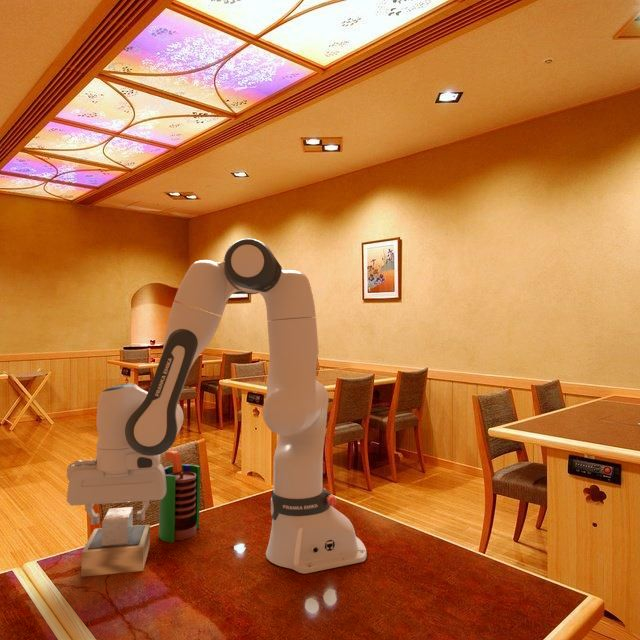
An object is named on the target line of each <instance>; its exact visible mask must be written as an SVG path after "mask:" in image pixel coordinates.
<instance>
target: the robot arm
mask: <svg viewBox="0 0 640 640" xmlns="http://www.w3.org/2000/svg"><path fill="white" fill-rule="evenodd" d="M223 258H224V259H223V261H221V262H216V261H213V260H209V259H201V260H196V261H195V262H193V263H192V264H191V265H190V266H189V268H188V270H187V271H186V273H185V274H184V277H183V278H182V281H181V283H180V285H179V287H178V289H177V291H176V293H175V296H174V299H173V300H174V301H173V303H172V305H171V309H170V311H169V316H168V320H167V326H166V331H165V332H166V333H165V336H164V343H163V348H162V352H161V355H160V359H159V361H158V365H157V368H156V370H155V373H154V375H153V379H152V381H151V384H150V387H149V389H148V391H147V390H146V389H145V390H144V389H143V388H141V387H140V386H138V385H137V384H136V383H133V382H132V383H131V382H129V383H121V384H116V385H113V386H112V385H111V386H109V387H107V388H105V389H103V391H102V392H100V393H99V397H98V400H97V406H96V407H97V408H96V409H97V410H96V429H97V433H98V439H97V442H96V447H95V448H96V455H95V456H96V457H95V459H94V458H93V459H84V460H80V459H79V460H74V461H73V462H71V463H70V464H68V466H67V468H66V478H67V480H68V486H67V492H66V502H67V503H68V504H69V505H70V506H71V507H73V506H84V510H85V512H86V513H87V515H88V516H89V518H90V525H98V524H99V523H100V513H96V512H95V509H93V507H94V506H95V505H101V504H103V505H104V504H115V503H130V502H131V503H132V502H142V504H141V505H142V506H143V507H142V509H141V510H137V512H136V521H137V522H140V521H141V522H143V521H145V519H146V518H145V517H146V511H147V509H148V508H149V506H150V503H151V501H158V500H159V501H160V500H161V499H163V498H164V496H165V495H166V491H167V485H166V475H165V470H164V468H165V467H164V465H163V464H162V463H161V457H162V456H161V455H162V454H165V452H168V451H169V449H171V447H172V446H173V445H174V443H175V441H176V438H177V435H178V434H179V432H180V431H181V429H182V427H183V424H184V421H185V415H184V414H185V413H184V411H183V408H182V406H181V405H180V404H179V401H180V397H181V395H182V392H183V389H184V387H185V384H186V381H187V378H188V376H189V373H190V370H191V368H192V367H193V365H194V363H195V362H196V360H197V359H198V357H199V356H200V355H201V354H202V353H203V352H204V350H205V349H206V348H208V346H209V344H210V343H211V341H213V338H214V335H215V334H216V332H217V330H218V328H219V326H220V323H221V320H222V317H223V314H224V311H225V309H226V305H227V303H228V301H229V299H230V297H231V296H232V295H237V294H238V295H239V294H240V295H256V294H257V295H258V294H259V295H260V296H262V298H263V300H264V304H265V308H266V319H267V334H268V337H267V338H268V349H269V352H268V353H269V363H268V372H267V383H266V396H265V399H264V403H263V406H262V407H263V408H262V417H263V421H264V423H265V425H266V426H267V428H269V430H270V432H273V433H274V434H276V435H278V438H277V443H276V446H275V447H276V448H275V451H274V454H273V489H272V490H271V497H270V514H271V519H272V520H271V528H270V535H269V541H268V545H267V548H266V551H265V557H266V559H267V560H268V561H269V562H270V563H272V564H274V565H276V566H279V567H283V568H286V569H291V570H294V571H295V572H297V573H299V574H310V573H316V572H319V571H324V570H330V569H334V568H339V567H344V566H349V565H355V564H358V563H364V562H365V561H366V559H367V556H368V554H367V548H366V546H365V544H364V543H363V541H362V540H361V539H360V538H359V537H357V536H356V531H355V528H354V525H353V524H352V522H351V520H350V519H349V518H348V517H347V516H346V515H345V514H343V513H342V512H340V511H339V510H337V509H336V508H335V506H336V505H337V502H338V499H337V498H336V497H335V495H334V494H331V492H330V491H328V489H326V488H325V487H323V478H324V477H323V471H324V470H323V465H324V464H323V463H324V459H323V458H324V446H325V439H326V430H327V422H328V421H327V420H328V408H329V402H330V401H329V399H330V398H329V393H328V390H327V388H326V387H325V386H324V384H323V383H321V382H320V381H318V380H317V379H316V378H317V365H318V364H317V362H318V358H319V357H318V356H319V351H320V350H319V339H318V328H317V316H316V314H317V313H316V308H315V307H316V306H315V301H314V295H313V291H312V287H311V283H310V280H309V279H308V276H307V275H306V274H304V273H303V272H301V271H299V270H293V269H292V270H291V269H286V270H285V269H282V268H283V267H282V265H281V264H280V263H279V261H278V260H277V258H276V256H275V255H274V254H273V252H272V250H271V249H270V248H269V247H268V245H267V244H265V243H264V242H262V241H260V240H258V239H255V238H242V239H239V240H237V241H235V242H234V243H232V244H231V245H230V246H229V248H228V249H227V250H226V252H225V254H224V257H223Z"/></svg>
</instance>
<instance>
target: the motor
mask: <svg viewBox="0 0 640 640" xmlns="http://www.w3.org/2000/svg"><path fill="white" fill-rule="evenodd" d="M164 456H165V457H164V461H165V462H169V461H170V462H171V463H172V465H170V466H169V465H168V466H165V467H164V470H165V475H166V485H167V491H166V495H165V496H164V498H163V499H161V500H159V506H158V508H159V510H158V511H159V513H158V538H159V539H160V540H161V541H163V542H167V543H174V542H175V541H183V540H187V539H191V538H193V537H194V536H196V535H197V529H199V528H200V504H201V503H200V499H201V498H200V496H201V494H200V493H201V466H199V465H196V464H189V463H188V464H186V463H182V459H181V456H180V453H179V451H177V450H167V451H165V452H164Z"/></svg>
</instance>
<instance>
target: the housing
mask: <svg viewBox="0 0 640 640" xmlns="http://www.w3.org/2000/svg"><path fill="white" fill-rule="evenodd" d="M133 514H134V507H133V506H127V507H115V508H114V507H113V508H109V509H108V510H107V512H106V514H105V516H104V517H103V520H102V521H101V528H102V546H112V545H124V544H127V543H128V541H129V538H130V535H131V532H132V530H133V526H134V525H133V524H134V522H133V521H134V519H133V518H134V515H133Z"/></svg>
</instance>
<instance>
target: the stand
mask: <svg viewBox="0 0 640 640" xmlns="http://www.w3.org/2000/svg"><path fill="white" fill-rule="evenodd" d="M150 545H151V524H140V525H133V530H132V532H131V535H130V538H129V541H128V543H127V544H124V545H112V546H102V527H99V528H94V529H93V531H92V532H91V534H90V537H89V538H88V539H87V541H86V544H85V545H84V547H83V549H82V550H81V559H80V560H81V565H80V566H81V568H80V569H81V570H80V571H81V572H80V573H81V577H82V578H84V577H93V576H104V575H114V574H123V573H134V572H136V573H137V572H143V571H144V568H145V565H146V561H147V558H148V553H149V551H150V548H151V547H150Z"/></svg>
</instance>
